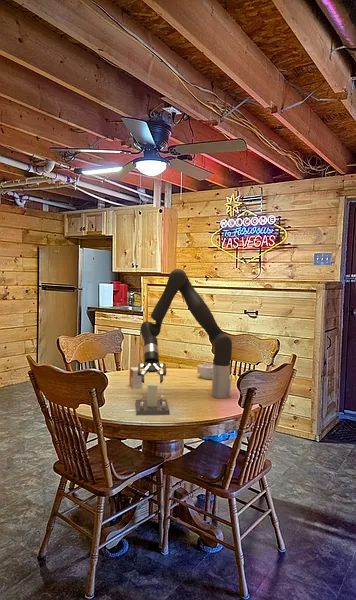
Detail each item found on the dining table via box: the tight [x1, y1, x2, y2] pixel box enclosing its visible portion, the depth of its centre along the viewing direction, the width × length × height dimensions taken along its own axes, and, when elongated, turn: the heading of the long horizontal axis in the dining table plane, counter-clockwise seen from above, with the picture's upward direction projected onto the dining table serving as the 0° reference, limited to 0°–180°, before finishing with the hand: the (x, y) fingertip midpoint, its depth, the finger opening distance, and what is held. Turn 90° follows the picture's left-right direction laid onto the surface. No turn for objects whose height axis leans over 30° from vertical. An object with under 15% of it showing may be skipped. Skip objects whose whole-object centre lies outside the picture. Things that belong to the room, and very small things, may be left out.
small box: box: [128, 366, 144, 390], centre depth 239 cm, size 8×6×10 cm
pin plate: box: [135, 394, 170, 416], centre depth 199 cm, size 15×17×5 cm
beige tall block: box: [146, 382, 158, 407], centre depth 199 cm, size 4×5×10 cm
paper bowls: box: [196, 363, 213, 380], centre depth 266 cm, size 15×15×8 cm
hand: (152, 382), depth 204 cm, fingers open, 8 cm apart
